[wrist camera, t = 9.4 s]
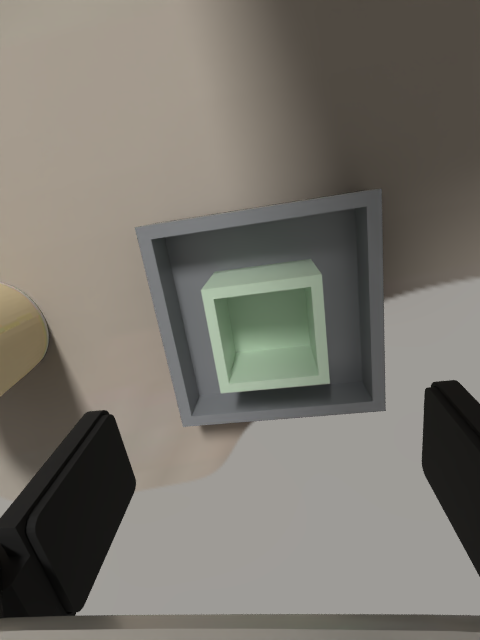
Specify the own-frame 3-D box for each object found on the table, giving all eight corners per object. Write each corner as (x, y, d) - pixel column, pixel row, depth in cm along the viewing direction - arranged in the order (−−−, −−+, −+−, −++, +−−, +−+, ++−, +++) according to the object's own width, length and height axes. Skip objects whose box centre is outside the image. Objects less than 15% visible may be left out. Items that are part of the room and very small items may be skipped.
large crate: (153, 223, 23) (134, 227, 20) (364, 190, 22) (381, 188, 18) (193, 399, 28) (183, 426, 25) (370, 384, 26) (385, 410, 23)
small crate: (214, 271, 23) (200, 290, 19) (310, 258, 23) (321, 274, 18) (229, 357, 25) (220, 393, 21) (318, 348, 25) (329, 383, 20)
